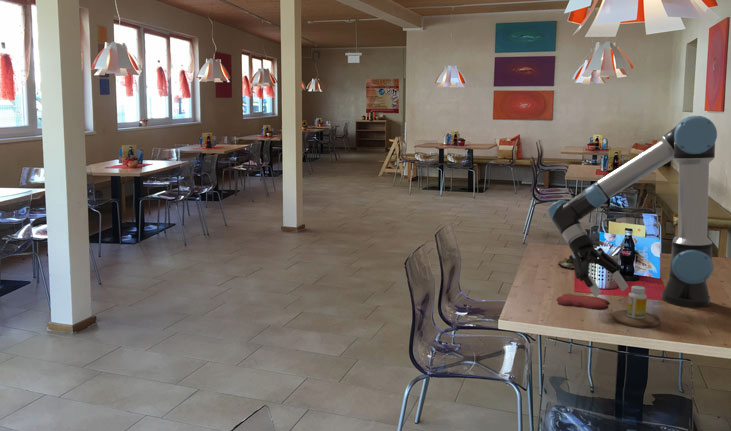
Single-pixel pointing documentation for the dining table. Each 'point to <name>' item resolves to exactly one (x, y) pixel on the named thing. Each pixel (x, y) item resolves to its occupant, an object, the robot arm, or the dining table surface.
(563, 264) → the burger
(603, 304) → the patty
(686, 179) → the robot arm
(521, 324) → the dining table surface
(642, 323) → the plate
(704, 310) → the dining table surface
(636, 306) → the supplement bottle
